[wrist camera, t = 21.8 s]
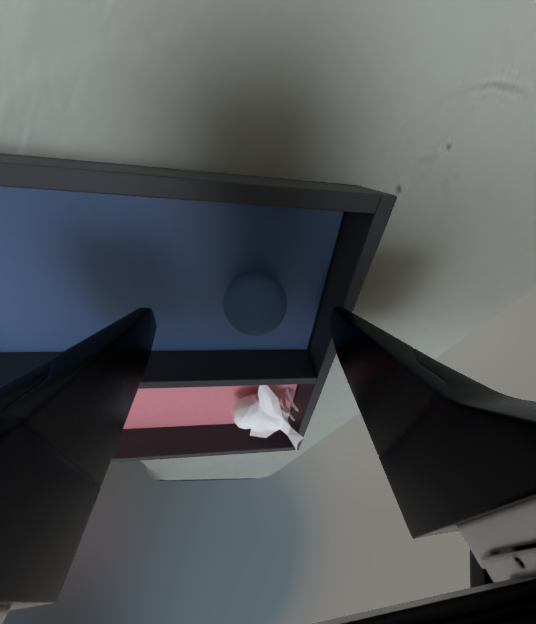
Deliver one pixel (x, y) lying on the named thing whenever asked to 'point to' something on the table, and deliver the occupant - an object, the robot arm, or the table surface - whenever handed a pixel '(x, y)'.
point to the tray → (181, 286)
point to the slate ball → (255, 303)
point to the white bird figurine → (265, 414)
